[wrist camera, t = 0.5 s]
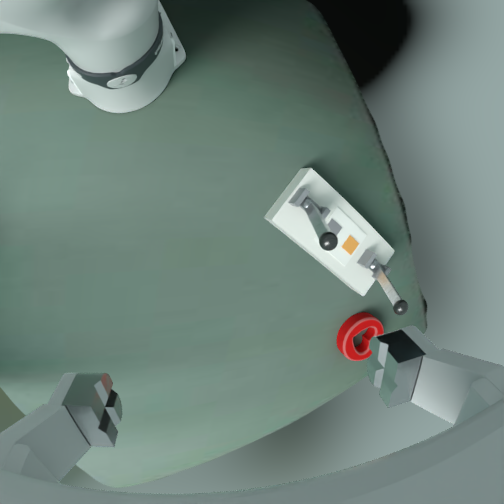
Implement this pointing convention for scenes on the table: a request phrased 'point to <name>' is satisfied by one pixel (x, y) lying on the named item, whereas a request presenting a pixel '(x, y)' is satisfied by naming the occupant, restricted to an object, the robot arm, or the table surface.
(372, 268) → the lever
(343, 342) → the decorative ornament
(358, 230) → the switch unit
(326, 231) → the lever
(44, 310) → the table surface
